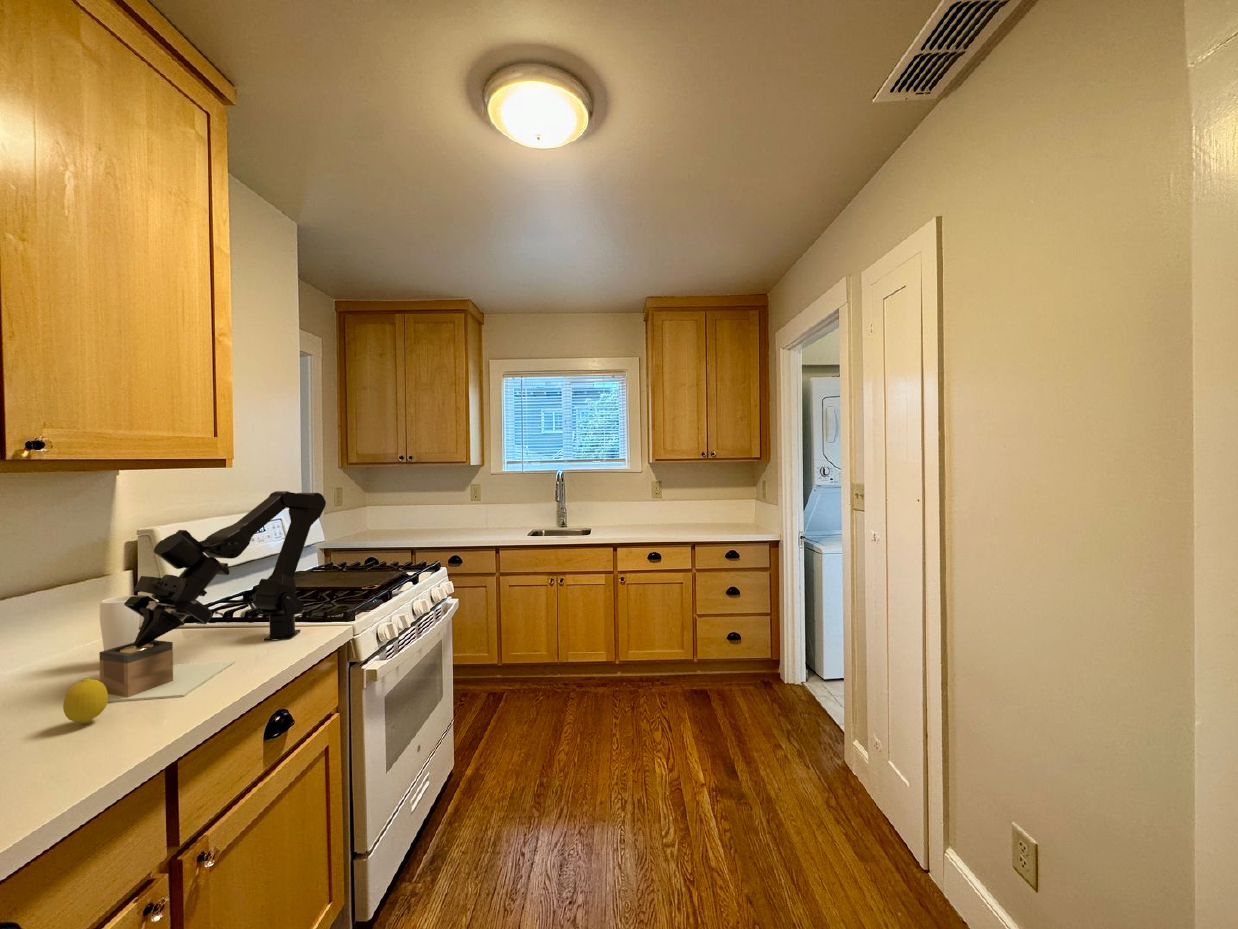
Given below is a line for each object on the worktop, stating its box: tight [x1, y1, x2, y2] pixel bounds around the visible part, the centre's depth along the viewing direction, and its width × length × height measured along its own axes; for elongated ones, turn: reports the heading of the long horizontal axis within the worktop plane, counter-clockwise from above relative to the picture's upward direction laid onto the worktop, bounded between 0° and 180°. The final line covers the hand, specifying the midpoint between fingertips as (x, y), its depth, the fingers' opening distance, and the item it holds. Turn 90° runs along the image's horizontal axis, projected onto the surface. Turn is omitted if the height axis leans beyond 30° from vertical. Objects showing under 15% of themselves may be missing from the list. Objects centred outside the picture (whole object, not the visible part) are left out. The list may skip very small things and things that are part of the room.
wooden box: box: [98, 639, 174, 697], centre depth 107 cm, size 8×8×8 cm
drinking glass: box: [99, 594, 141, 651], centre depth 121 cm, size 7×7×15 cm
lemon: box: [62, 677, 108, 725], centre depth 93 cm, size 6×6×8 cm
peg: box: [120, 644, 153, 653], centre depth 107 cm, size 5×5×8 cm
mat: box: [107, 660, 236, 703], centre depth 111 cm, size 18×18×1 cm
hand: (136, 646), depth 107 cm, fingers closed, pressing on peg
